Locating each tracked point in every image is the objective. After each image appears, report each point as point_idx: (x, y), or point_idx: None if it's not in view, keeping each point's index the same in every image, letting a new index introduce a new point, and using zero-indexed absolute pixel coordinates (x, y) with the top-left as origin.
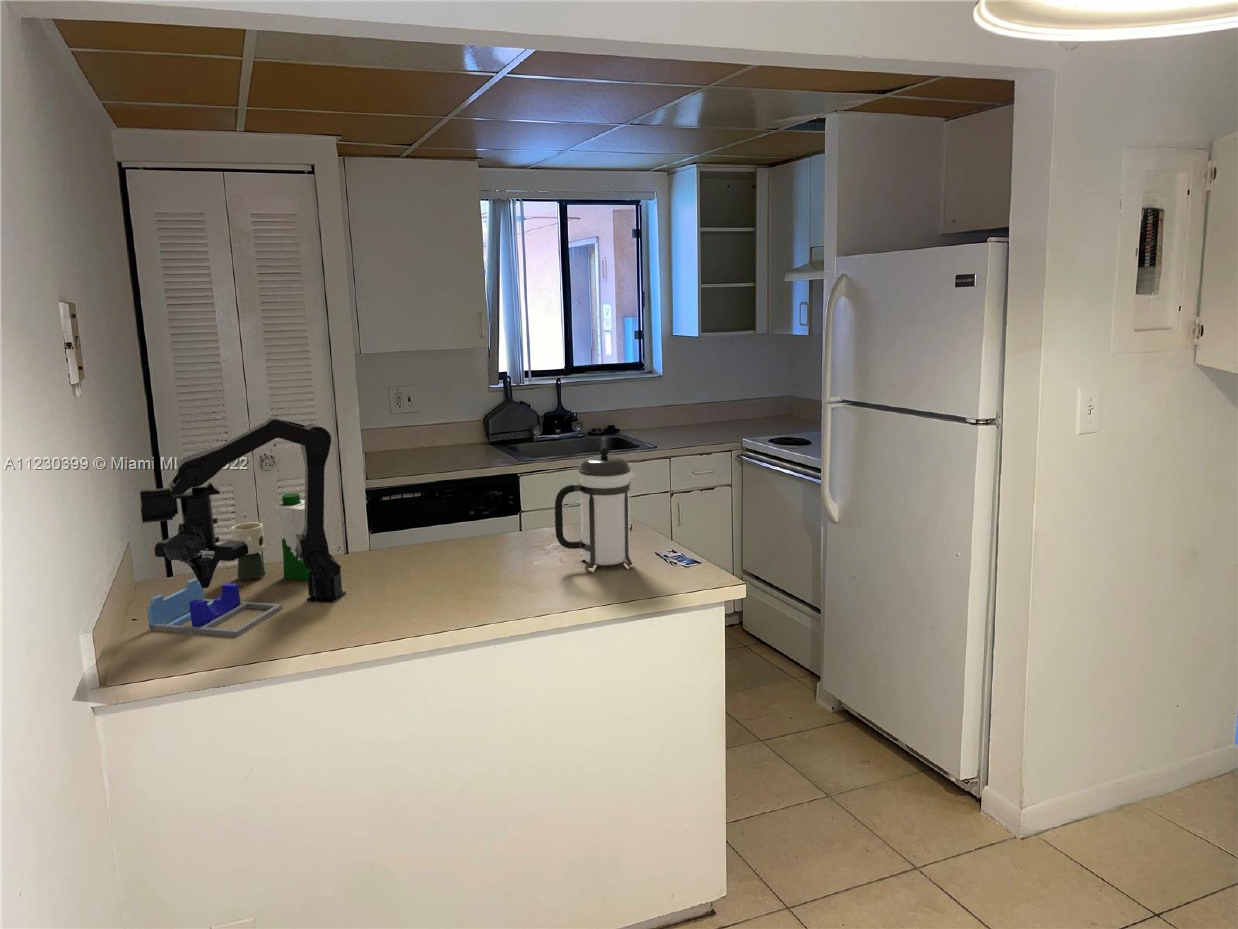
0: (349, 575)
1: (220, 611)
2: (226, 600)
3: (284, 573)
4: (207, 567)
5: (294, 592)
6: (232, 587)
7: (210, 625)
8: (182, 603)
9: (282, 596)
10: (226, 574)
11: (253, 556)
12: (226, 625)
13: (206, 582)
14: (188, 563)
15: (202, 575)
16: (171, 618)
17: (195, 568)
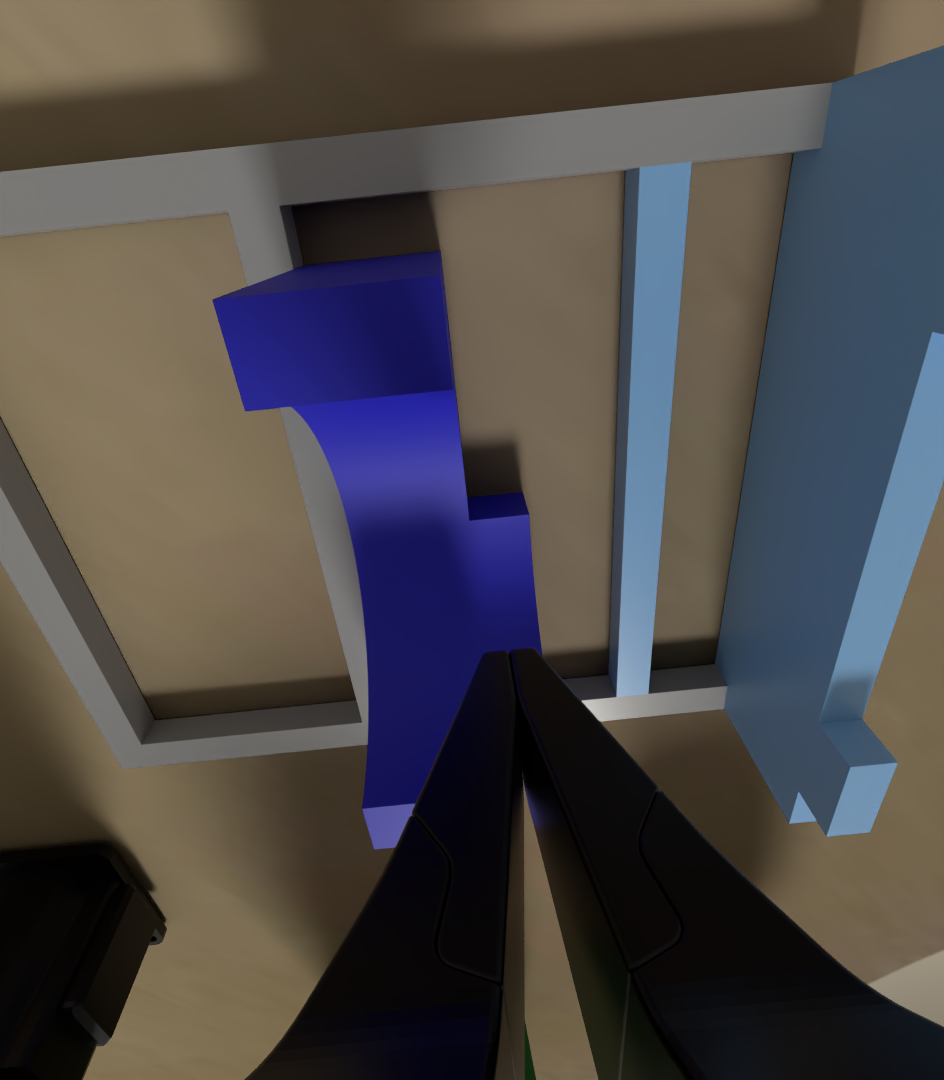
0: (249, 1049)
1: (398, 554)
2: (422, 672)
3: None
4: (313, 1010)
5: (310, 899)
6: (380, 794)
7: None
8: (786, 547)
9: (322, 856)
10: (833, 951)
11: None
12: (216, 411)
13: (464, 715)
14: (898, 1077)
15: (488, 793)
16: (770, 369)
17: (653, 921)
